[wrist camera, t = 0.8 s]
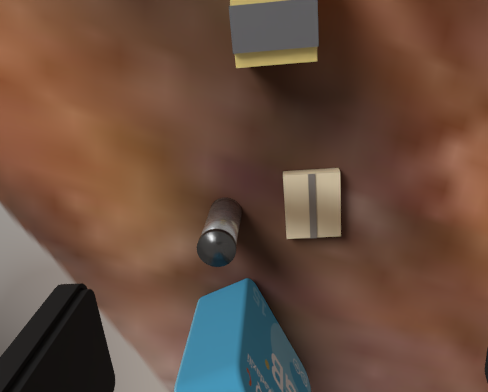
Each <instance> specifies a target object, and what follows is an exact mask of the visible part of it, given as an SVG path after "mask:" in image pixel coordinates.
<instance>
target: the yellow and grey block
mask: <svg viewBox="0 0 488 392" xmlns="http://www.w3.org/2000/svg"><path fill="white" fill-rule="evenodd" d="M230 5H231V6H229V14H230V25H231V36H232V47H233V54H235V61H236V68H243V67H255V66H267V65H279V64H291V63H303V62H315V61H317V47H318V46H319V38H318V0H230Z"/></svg>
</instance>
